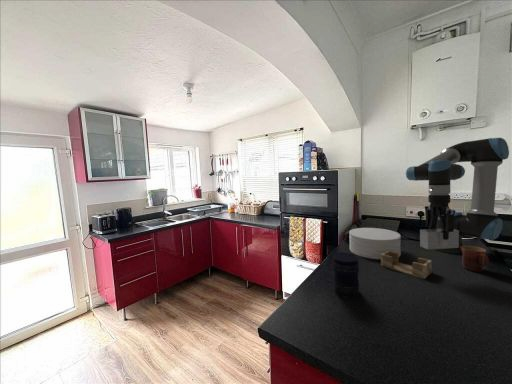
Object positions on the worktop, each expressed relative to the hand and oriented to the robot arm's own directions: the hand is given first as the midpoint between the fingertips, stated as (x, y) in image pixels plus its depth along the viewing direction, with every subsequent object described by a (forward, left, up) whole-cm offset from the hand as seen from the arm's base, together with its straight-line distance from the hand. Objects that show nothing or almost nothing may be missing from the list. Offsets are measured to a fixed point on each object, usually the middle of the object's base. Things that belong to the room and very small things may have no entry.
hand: (438, 244), depth 97 cm
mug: (-17, +10, -15) cm, 25 cm away
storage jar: (+44, -20, -15) cm, 50 cm away
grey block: (0, 0, -1) cm, 1 cm away
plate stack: (-11, -34, -15) cm, 39 cm away
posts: (+4, -12, -15) cm, 20 cm away
